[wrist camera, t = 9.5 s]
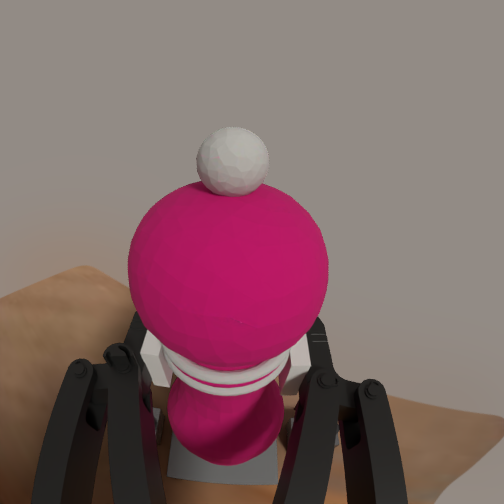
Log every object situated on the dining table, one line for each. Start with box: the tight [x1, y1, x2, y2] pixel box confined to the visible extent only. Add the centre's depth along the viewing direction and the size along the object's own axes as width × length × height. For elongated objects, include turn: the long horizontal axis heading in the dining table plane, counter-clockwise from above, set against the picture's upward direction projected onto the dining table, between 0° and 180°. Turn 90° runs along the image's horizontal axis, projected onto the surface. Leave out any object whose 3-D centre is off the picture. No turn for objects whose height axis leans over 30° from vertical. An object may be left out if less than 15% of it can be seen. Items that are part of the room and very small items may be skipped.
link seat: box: [167, 432, 278, 485], centre depth 19 cm, size 9×9×1 cm
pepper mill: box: [128, 127, 328, 466], centre depth 12 cm, size 7×7×20 cm
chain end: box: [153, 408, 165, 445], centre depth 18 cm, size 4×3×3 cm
